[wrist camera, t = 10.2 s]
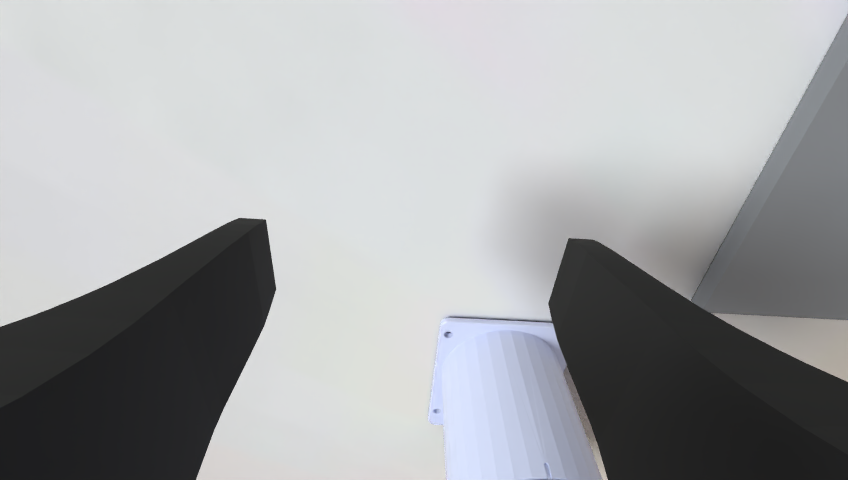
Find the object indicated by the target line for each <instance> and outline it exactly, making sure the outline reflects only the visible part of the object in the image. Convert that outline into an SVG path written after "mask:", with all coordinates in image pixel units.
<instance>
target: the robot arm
mask: <svg viewBox="0 0 848 480" xmlns="http://www.w3.org/2000/svg"><path fill="white" fill-rule="evenodd" d="M275 291H276V285H275V279H274V272H273V265H272V258H271V251H270V245H269V238H268V231H267V224H266V220H263V219H247V218H238V219H236V220H233V221H231V222H229V223H227V224H225V225H223V226H221V227H219V228H217V229H215V230H213V231H211V232H210V233H208V234H206V235H204V236H202V237H200V238H199V239H197V240H195V241H193V242H191V243H189V244H187V245H186V246H184V247H182V248H180V249H178V250H176V251H174V252H172V253H171V254H169V255H167V256H165V257H163V258H161V259H159V260H157V261H155V262H153V263H151V264H149V265H147V266H145V267H143V268H141V269H139V270H137V271H135V272H133V273H131V274H129V275H127V276H125V277H123V278H121V279H119V280H117V281H115V282H112V283H110V284H108V285H106V286H104V287H101V288H99V289H97V290H95V291H92V292H90V293H88V294H86V295H83V296H81V297H78V298H76V299H73V300H71V301H69V302H66V303H64V304H61V305H59V306H56V307H54V308H51V309H49V310H46V311H44V312H41V313H38V314H36V315H33V316H30V317H28V318H25V319H22V320H19V321H16V322H13V323H10V324H7V325H5V326H2V327H0V480H196V478H197V475H198V472H199V470H200V467H201V464H202V461H203V459H204V456H205V453H206V451H207V448H208V445H209V443H210V440H211V437H212V435H213V432H214V429H215V427H216V425H217V422H218V420H219V418H220V416H221V413H222V411H223V409H224V407H225V405H226V403H227V401H228V399H229V397H230V395H231V393H232V391H233V389H234V387H235V385H236V383H237V381H238V378H239V376H240V374H241V372H242V370H243V368H244V366H245V364H246V362H247V360H248V358H249V356H250V354H251V352H252V350H253V348H254V346H255V344H256V342H257V340H258V338H259V336H260V333H261V331H262V329H263V327H264V325H265V322H266V319H267V316H268V313H269V310H270V307H271V304H272V301H273V297H274V294H275ZM548 304H549V308H550V313H551V317H552V322H553V323H545V322H525V321H506V320H486V319H467V318H445V319H443V320H442V321H441V323H440V330H439V337H438V345H437V352H436V360H435V368H434V375H433V383H432V390H431V398H430V406H429V413H428V421H429V422H430V423H431V424H435V425H443V430H444V449H445V468H446V480H603V479H602V476H601V474H600V471H599V468H598V466H597V463H596V460H595V457H594V455H593V452H592V449H591V447H590V444H589V441H588V439H587V436H586V433H585V431H584V428H583V425H582V423H581V420H580V417H579V415H578V412H577V409H576V407H575V404H574V401H573V399H572V396H571V393H570V391H569V388H568V385H567V383H566V380H565V377H564V375H563V373H564V371H565V368H566V365H567V367H568V369H569V372H570V374H571V376H572V379H573V381H574V384H575V386H576V389H577V391H578V394H579V396H580V399H581V401H582V404H583V406H584V409H585V411H586V414H587V416H588V419H589V421H590V424H591V426H592V429H593V432H594V435H595V438H596V440H597V443H598V447H599V450H600V453H601V457H602V460H603V464H604V467H605V471H606V474H607V478H608V480H848V382H846V381H844V380H842V379H840V378H837V377H835V376H833V375H831V374H829V373H826V372H824V371H822V370H820V369H817V368H815V367H813V366H811V365H809V364H806V363H804V362H802V361H800V360H798V359H796V358H794V357H792V356H790V355H788V354H786V353H783V352H781V351H779V350H777V349H775V348H774V347H772V346H770V345H768V344H766V343H764V342H762V341H760V340H758V339H756V338H754V337H752V336H750V335H749V334H747V333H745V332H743V331H741V330H739V329H737V328H735V327H734V326H732V325H730V324H728V323H726V322H725V321H723V320H721V319H719V318H718V317H716V316H714V315H713V314H711V313H709V312H708V311H706V310H704V309H703V308H701V307H699V306H698V305H696V304H694V303H693V302H691V301H689V300H688V299H686V298H685V297H683V296H681V295H680V294H678V293H677V292H675V291H673V290H672V289H670V288H669V287H667V286H666V285H664V284H663V283H661V282H660V281H658V280H656V279H655V278H653V277H652V276H650V275H649V274H647V273H646V272H644V271H643V270H641V269H640V268H638V267H637V266H635V265H634V264H632V263H631V262H629V261H628V260H626V259H625V258H623V257H622V256H620V255H619V254H617V253H616V252H614V251H612V250H611V249H609V248H608V247H606V246H604V245H602V244H601V243H599V242H597V241H595V240H588V239H571V238H569V239H568V242H567V245H566V249H565V252H564V255H563V258H562V262H561V265H560V268H559V271H558V274H557V278H556V281H555V284H554V287H553V291H552V294H551V297H550V300H549V303H548ZM448 331H449V332H450V333H445V332H448Z"/></svg>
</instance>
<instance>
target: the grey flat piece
mask: <svg viewBox="0 0 848 480" xmlns="http://www.w3.org/2000/svg"><path fill="white" fill-rule="evenodd" d="M692 302H693V303H694V304H696V305H698V306H699V307H701V308H703V309H704V310H706V311H708V312H709V313H725V314H743V315H762V316H781V317H799V318H818V319H837V320H848V15H847V17H846V19H845V21H844V23H843V24H842V26H841V28H840V30H839V32H838V34H837V35H836V37H835V39H834V41H833V43H832V44H831V46H830V48H829V50H828V52H827V54H826V55H825V57H824V59H823V61H822V63H821V65H820V66H819V68H818V70H817V72H816V74H815V76H814V77H813V79H812V81H811V83H810V85H809V86H808V88H807V90H806V92H805V94H804V96H803V97H802V99H801V101H800V103H799V105H798V107H797V108H796V110H795V112H794V114H793V116H792V117H791V119H790V121H789V123H788V125H787V127H786V128H785V130H784V132H783V134H782V136H781V138H780V139H779V141H778V143H777V145H776V147H775V149H774V150H773V152H772V154H771V156H770V158H769V159H768V161H767V163H766V165H765V167H764V169H763V170H762V172H761V174H760V176H759V178H758V180H757V181H756V183H755V185H754V187H753V189H752V190H751V192H750V194H749V196H748V198H747V200H746V201H745V203H744V205H743V207H742V209H741V211H740V212H739V214H738V216H737V218H736V220H735V221H734V223H733V225H732V227H731V229H730V231H729V232H728V234H727V236H726V238H725V240H724V242H723V243H722V245H721V247H720V249H719V251H718V253H717V254H716V256H715V258H714V260H713V262H712V263H711V265H710V267H709V269H708V271H707V273H706V274H705V276H704V278H703V280H702V282H701V284H700V285H699V287H698V289H697V291H696V293H695V294H694V296H693V298H692Z"/></svg>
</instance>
